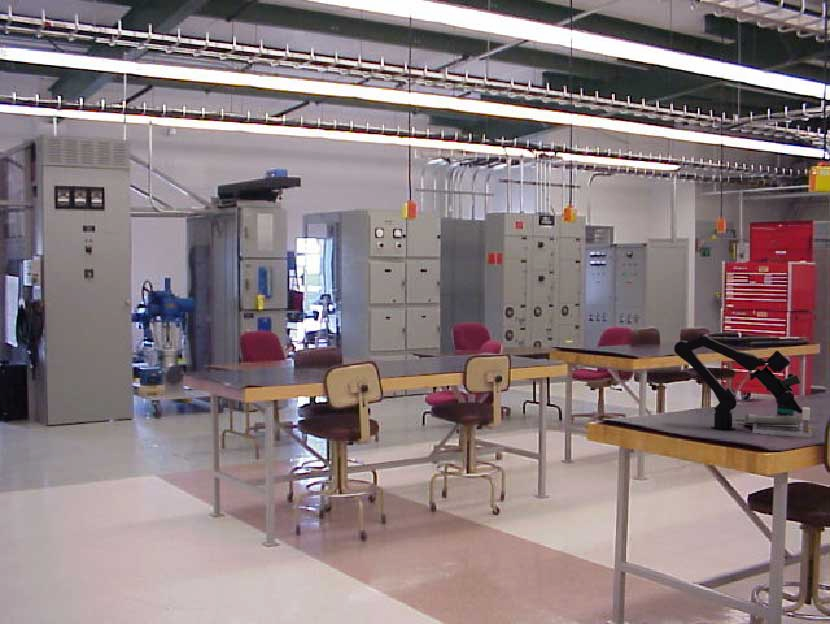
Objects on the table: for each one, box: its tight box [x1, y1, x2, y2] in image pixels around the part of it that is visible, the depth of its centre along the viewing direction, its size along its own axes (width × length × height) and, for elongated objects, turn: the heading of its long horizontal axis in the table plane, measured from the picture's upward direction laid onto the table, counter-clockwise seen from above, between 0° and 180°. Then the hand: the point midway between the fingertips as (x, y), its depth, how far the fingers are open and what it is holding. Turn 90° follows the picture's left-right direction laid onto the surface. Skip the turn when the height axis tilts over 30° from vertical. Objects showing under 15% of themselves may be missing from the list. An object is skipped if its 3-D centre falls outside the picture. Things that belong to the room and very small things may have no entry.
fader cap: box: [801, 406, 811, 430], centre depth 316 cm, size 2×4×8 cm, turn 157°
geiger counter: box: [732, 412, 802, 428], centre depth 331 cm, size 14×6×25 cm
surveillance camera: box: [776, 403, 795, 416], centre depth 345 cm, size 6×12×10 cm
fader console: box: [752, 423, 813, 439], centre depth 319 cm, size 20×11×2 cm, turn 66°
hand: (801, 412), depth 316 cm, fingers closed, pressing on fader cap
